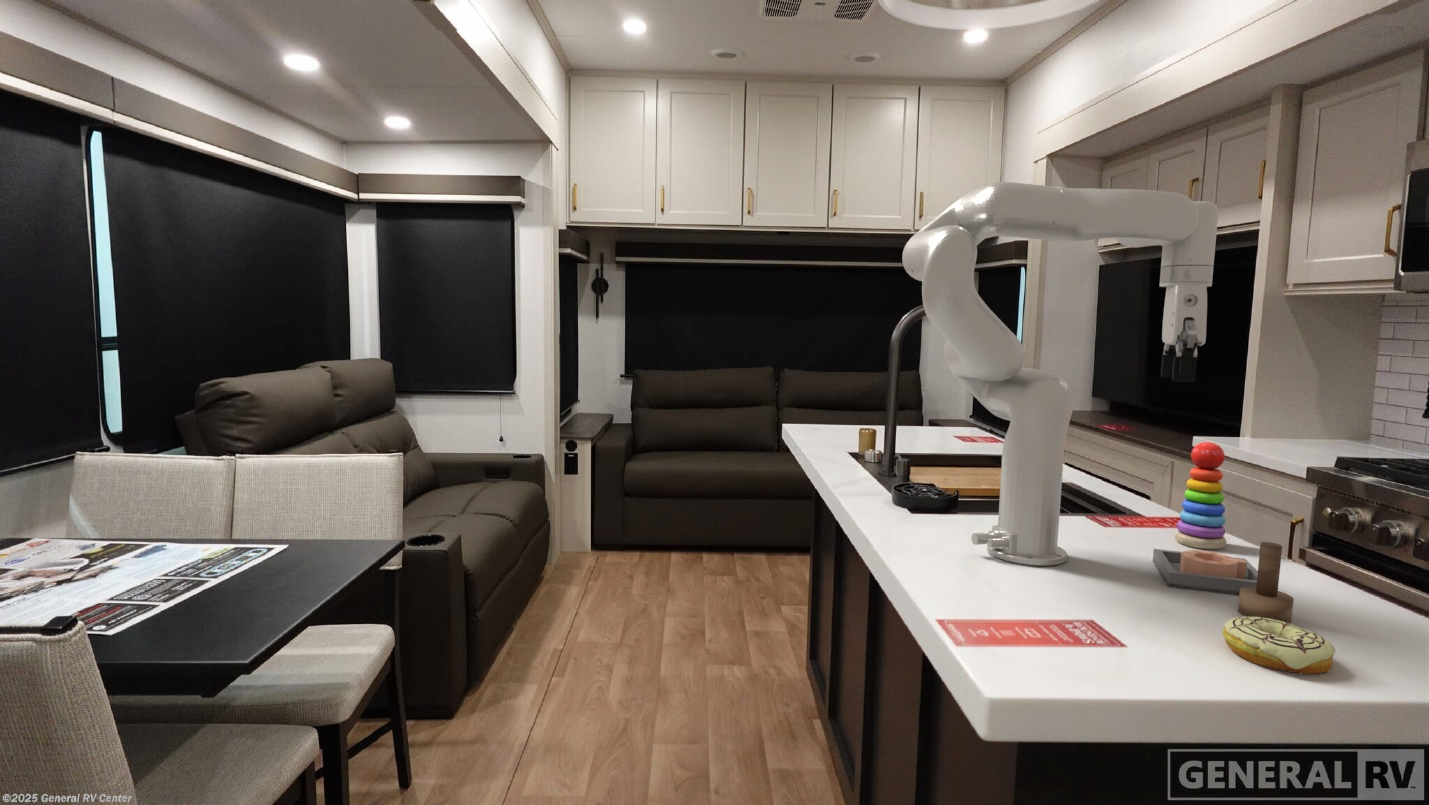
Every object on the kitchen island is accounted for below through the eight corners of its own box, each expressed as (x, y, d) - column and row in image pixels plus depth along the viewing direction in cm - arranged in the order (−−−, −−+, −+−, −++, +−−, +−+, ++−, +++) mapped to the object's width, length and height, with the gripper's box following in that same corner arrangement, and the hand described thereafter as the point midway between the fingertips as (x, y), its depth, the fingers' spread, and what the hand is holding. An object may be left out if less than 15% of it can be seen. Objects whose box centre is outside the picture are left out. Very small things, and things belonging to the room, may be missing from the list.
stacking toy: (1236, 551, 135) (1246, 446, 133) (1190, 550, 135) (1199, 445, 133) (1208, 538, 143) (1217, 439, 141) (1165, 537, 143) (1173, 438, 141)
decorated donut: (1311, 688, 85) (1315, 655, 84) (1206, 652, 94) (1209, 622, 93) (1346, 665, 91) (1349, 634, 90) (1243, 633, 99) (1246, 605, 99)
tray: (1269, 598, 112) (1271, 584, 111) (1168, 586, 116) (1169, 572, 116) (1243, 571, 124) (1245, 558, 123) (1152, 561, 128) (1153, 548, 128)
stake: (1267, 625, 102) (1274, 552, 100) (1227, 608, 107) (1233, 539, 106) (1302, 622, 103) (1310, 549, 102) (1261, 605, 109) (1268, 537, 108)
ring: (1250, 587, 115) (1252, 567, 115) (1186, 579, 118) (1188, 560, 118) (1237, 573, 121) (1238, 554, 121) (1177, 566, 124) (1178, 548, 124)
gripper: (1226, 274, 119) (1216, 384, 121) (1199, 280, 135) (1190, 377, 137) (1170, 274, 121) (1161, 382, 123) (1151, 280, 137) (1143, 375, 139)
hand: (1177, 379), depth 130 cm, fingers open, 9 cm apart
